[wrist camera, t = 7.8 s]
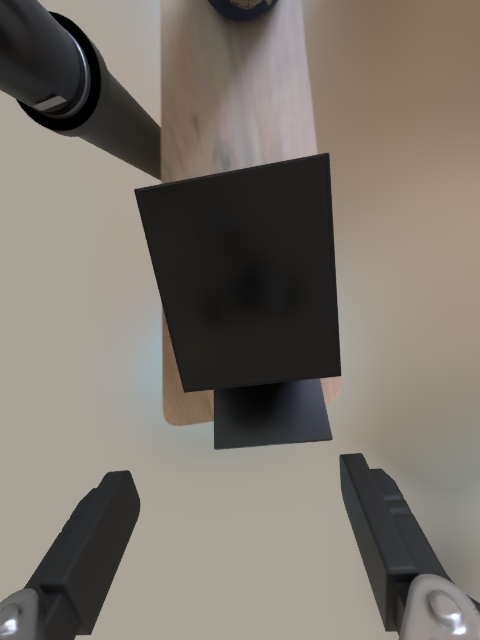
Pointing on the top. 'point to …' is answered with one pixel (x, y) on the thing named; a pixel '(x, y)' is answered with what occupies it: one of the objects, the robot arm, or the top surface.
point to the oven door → (270, 415)
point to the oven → (247, 273)
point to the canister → (242, 8)
